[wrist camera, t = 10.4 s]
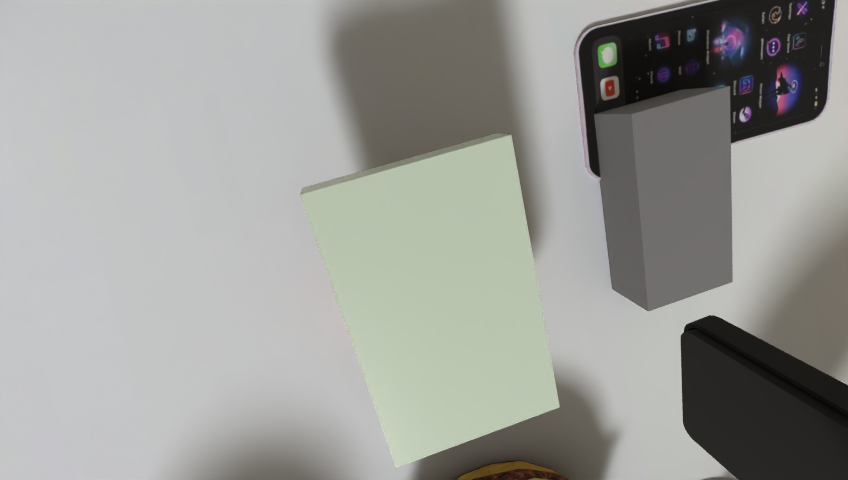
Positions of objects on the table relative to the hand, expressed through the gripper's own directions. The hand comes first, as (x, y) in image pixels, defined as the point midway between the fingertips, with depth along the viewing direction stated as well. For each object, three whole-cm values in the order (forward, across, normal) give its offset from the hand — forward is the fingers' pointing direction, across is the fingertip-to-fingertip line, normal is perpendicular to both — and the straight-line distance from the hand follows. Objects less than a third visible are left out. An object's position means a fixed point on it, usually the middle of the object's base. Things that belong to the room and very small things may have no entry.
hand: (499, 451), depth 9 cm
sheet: (+9, -1, +1) cm, 9 cm away
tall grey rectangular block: (+13, -14, +1) cm, 19 cm away
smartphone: (+14, -18, -4) cm, 23 cm away
